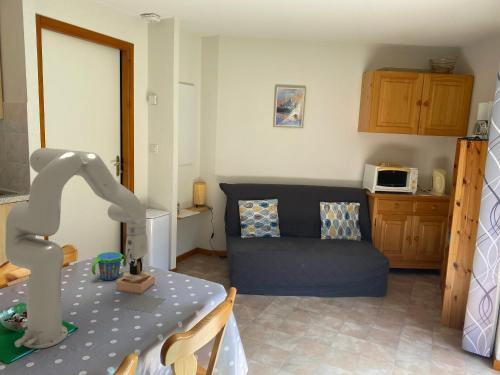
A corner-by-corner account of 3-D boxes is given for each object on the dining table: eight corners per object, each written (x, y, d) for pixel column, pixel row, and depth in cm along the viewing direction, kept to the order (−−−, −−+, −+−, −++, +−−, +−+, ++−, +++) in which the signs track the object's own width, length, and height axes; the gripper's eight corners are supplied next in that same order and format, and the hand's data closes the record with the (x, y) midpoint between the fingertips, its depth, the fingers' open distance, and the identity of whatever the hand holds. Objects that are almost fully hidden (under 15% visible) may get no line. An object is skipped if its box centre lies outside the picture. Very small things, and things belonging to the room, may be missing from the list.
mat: (151, 313, 137) (151, 312, 137) (121, 308, 140) (121, 307, 140) (166, 299, 149) (166, 299, 149) (139, 295, 152) (139, 294, 152)
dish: (141, 295, 152) (141, 285, 151) (116, 290, 155) (116, 281, 154) (154, 284, 163) (155, 275, 162) (131, 280, 166) (131, 271, 165)
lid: (140, 281, 152) (140, 267, 151) (118, 278, 154) (118, 264, 153) (152, 272, 162) (153, 259, 161) (131, 269, 164) (132, 256, 163)
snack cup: (121, 270, 177) (121, 249, 175) (131, 277, 169) (131, 255, 168) (87, 277, 166) (86, 255, 164) (96, 285, 158) (96, 262, 157)
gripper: (133, 236, 146) (133, 281, 149) (154, 226, 162) (153, 267, 165) (116, 234, 148) (116, 278, 151) (138, 224, 164) (138, 264, 166)
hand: (136, 272), depth 158 cm, fingers closed on lid, 3 cm apart
